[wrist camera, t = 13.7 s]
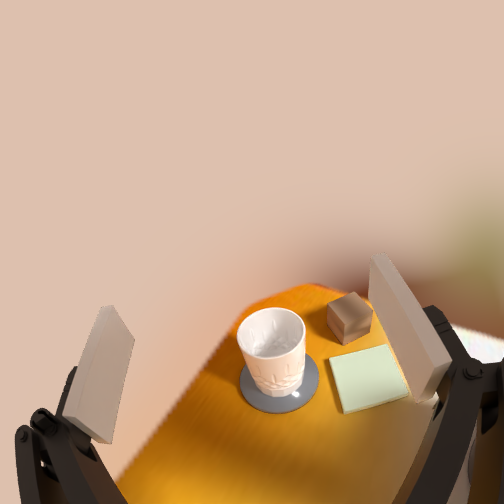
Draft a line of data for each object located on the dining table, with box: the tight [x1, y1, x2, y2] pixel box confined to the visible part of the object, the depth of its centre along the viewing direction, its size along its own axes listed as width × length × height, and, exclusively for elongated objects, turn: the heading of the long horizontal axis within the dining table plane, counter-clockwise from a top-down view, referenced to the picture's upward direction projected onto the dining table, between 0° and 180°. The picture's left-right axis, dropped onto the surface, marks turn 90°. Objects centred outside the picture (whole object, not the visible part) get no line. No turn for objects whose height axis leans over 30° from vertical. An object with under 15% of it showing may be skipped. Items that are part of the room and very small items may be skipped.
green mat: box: [329, 344, 409, 414], centre depth 36 cm, size 9×9×1 cm
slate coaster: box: [240, 353, 319, 414], centre depth 39 cm, size 11×11×1 cm
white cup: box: [237, 308, 305, 397], centre depth 36 cm, size 8×8×10 cm
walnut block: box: [327, 292, 373, 346], centre depth 44 cm, size 5×5×5 cm
